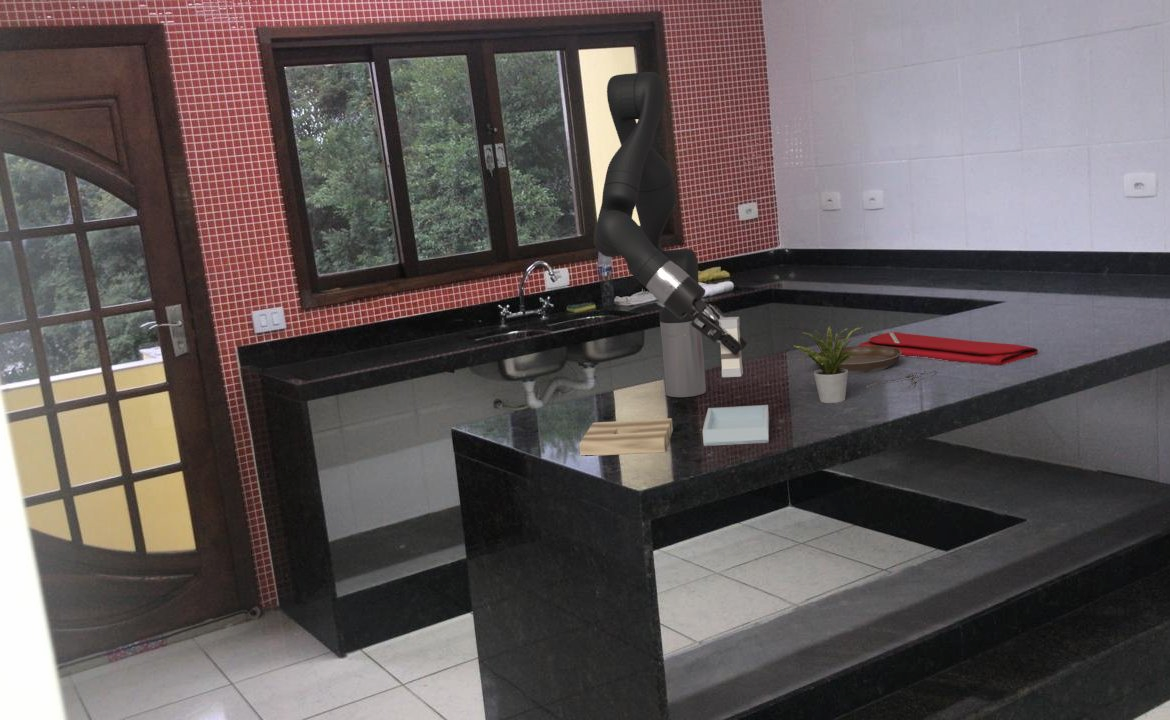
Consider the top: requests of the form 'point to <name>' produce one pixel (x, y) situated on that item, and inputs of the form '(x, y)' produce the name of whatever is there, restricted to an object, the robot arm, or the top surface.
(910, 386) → the pliers
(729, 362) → the block
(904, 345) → the dish drying mat
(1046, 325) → the top surface
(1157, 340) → the top surface
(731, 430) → the parts tray
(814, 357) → the house plant
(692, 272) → the robot arm
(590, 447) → the wooden board with hole
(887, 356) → the plant saucer
